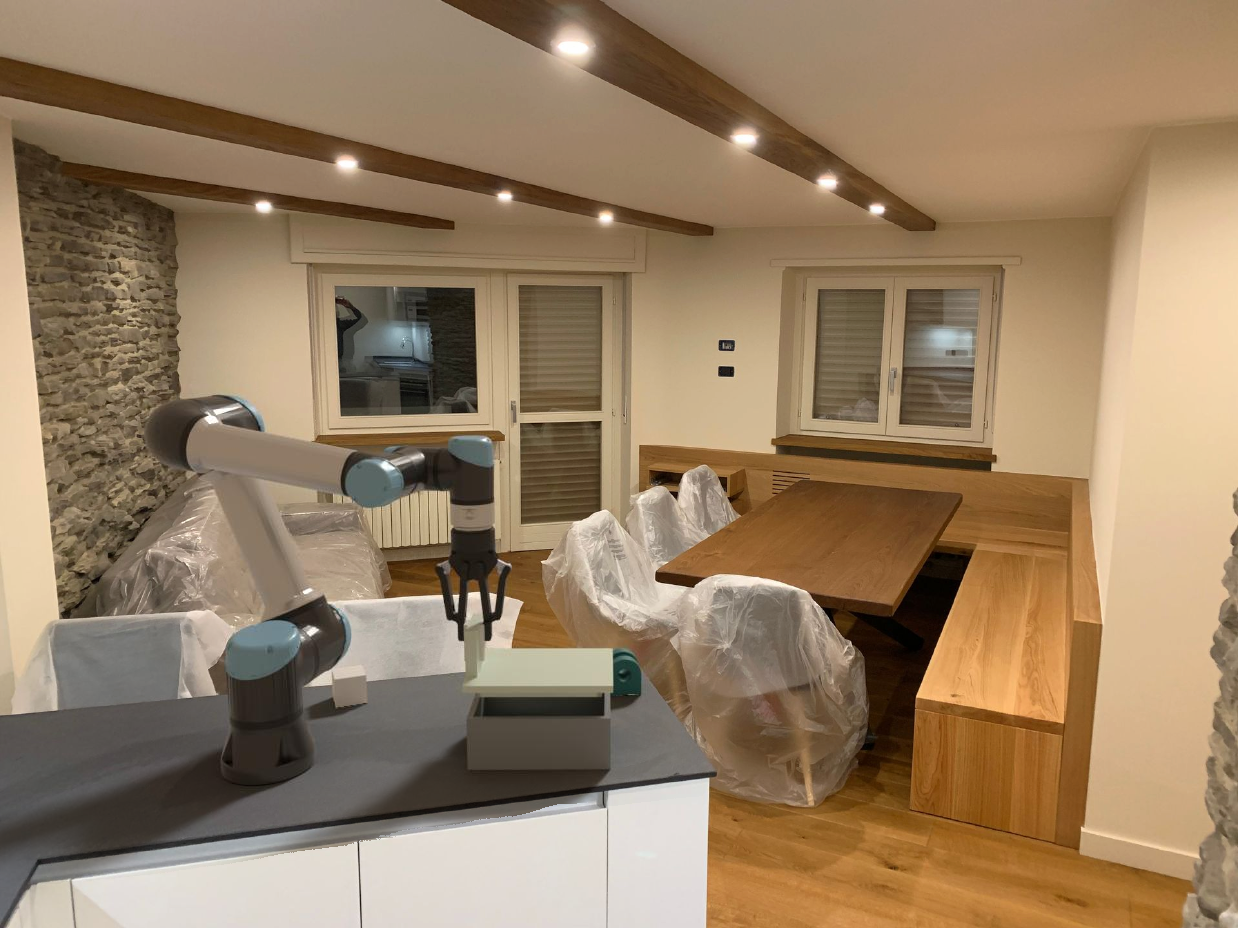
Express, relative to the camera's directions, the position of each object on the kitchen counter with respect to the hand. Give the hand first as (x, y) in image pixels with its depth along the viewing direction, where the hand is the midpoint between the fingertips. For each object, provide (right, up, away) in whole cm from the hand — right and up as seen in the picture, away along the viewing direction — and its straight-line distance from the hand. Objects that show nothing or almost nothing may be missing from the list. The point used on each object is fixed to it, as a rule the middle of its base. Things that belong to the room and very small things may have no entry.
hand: (475, 658), depth 157 cm
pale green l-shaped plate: (+12, -4, +1) cm, 12 cm away
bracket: (+20, -13, +28) cm, 37 cm away
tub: (+12, -16, +3) cm, 20 cm away
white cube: (-29, -14, +23) cm, 39 cm away
